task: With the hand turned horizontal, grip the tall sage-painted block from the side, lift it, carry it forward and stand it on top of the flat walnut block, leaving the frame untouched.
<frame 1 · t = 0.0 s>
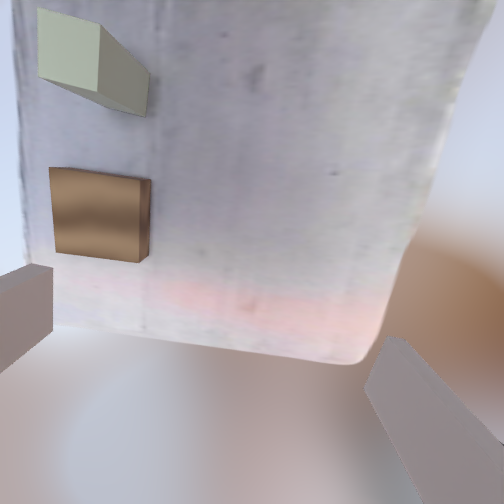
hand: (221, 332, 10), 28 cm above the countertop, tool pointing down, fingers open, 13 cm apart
sage block: (127, 90, 32), on the countertop
walnut block: (112, 213, 37), on the countertop
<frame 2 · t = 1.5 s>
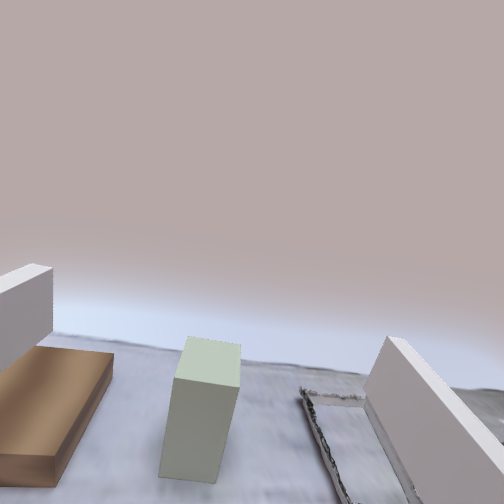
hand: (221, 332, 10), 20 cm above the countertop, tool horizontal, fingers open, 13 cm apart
sage block: (192, 450, 25), on the countertop
walnut block: (27, 421, 25), on the countertop
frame: (349, 455, 29), on the countertop
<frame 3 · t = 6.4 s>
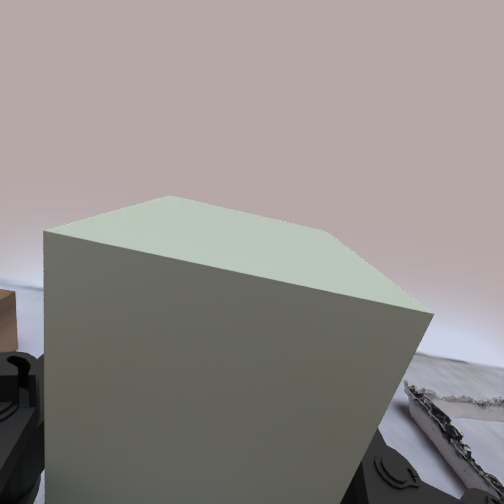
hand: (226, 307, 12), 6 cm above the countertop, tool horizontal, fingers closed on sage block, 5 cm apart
when the fingers open (10 cm above the countertop, at t = 10.9 s): sage block stays where it is, resting on walnut block.
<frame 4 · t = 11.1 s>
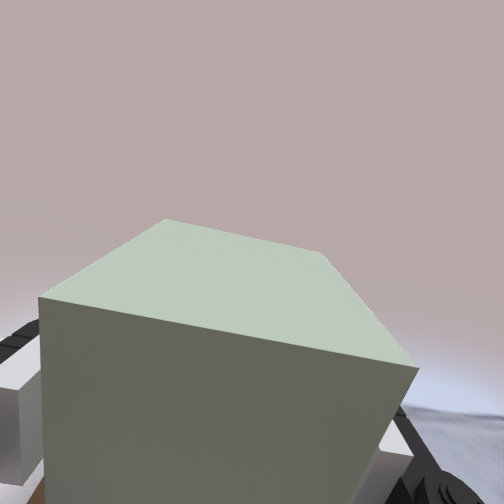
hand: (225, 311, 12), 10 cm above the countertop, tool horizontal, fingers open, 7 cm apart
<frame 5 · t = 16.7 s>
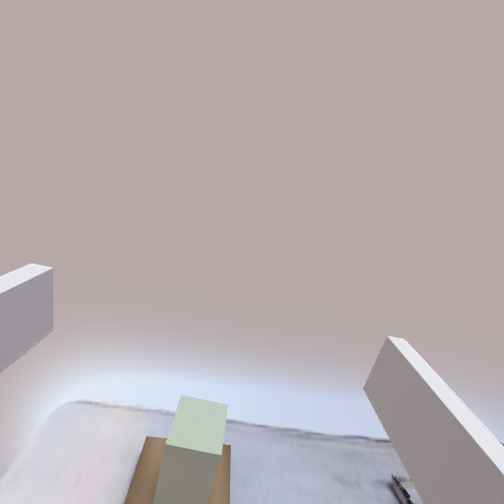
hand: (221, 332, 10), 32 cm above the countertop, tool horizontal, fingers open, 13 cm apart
sage block: (181, 494, 28), point 4 cm above the countertop, touching walnut block
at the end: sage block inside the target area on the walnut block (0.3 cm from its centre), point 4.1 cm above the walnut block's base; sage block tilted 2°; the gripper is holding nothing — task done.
